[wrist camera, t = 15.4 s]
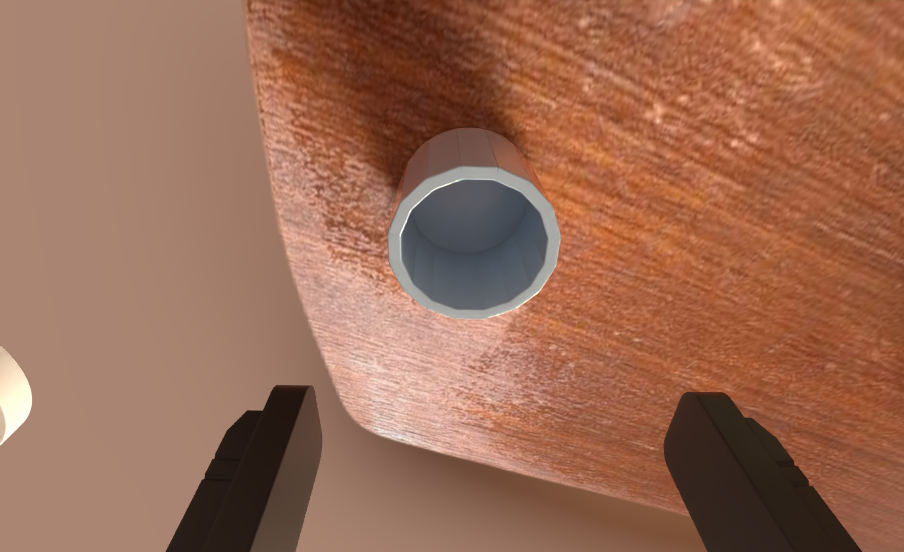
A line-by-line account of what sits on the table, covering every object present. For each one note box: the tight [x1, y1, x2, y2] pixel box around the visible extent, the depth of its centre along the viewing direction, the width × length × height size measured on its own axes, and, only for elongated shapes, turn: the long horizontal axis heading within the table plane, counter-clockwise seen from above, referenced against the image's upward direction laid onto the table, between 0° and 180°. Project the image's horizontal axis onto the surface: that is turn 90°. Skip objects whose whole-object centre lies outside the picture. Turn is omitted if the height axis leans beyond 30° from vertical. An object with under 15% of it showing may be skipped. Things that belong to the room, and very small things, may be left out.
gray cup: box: [387, 128, 561, 319], centre depth 19 cm, size 6×6×6 cm
